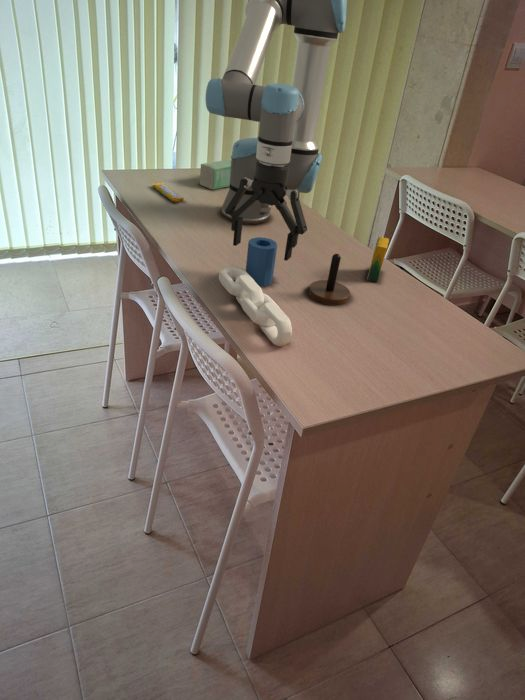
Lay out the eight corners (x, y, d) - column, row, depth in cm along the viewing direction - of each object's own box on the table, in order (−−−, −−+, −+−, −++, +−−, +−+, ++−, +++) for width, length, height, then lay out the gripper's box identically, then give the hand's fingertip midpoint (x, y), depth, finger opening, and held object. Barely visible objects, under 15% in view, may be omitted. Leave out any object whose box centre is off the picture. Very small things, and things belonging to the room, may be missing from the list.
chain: (297, 347, 112) (301, 321, 109) (271, 352, 109) (274, 326, 106) (238, 281, 133) (241, 258, 130) (215, 284, 131) (217, 261, 127)
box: (240, 184, 196) (242, 163, 192) (213, 190, 187) (214, 169, 183) (226, 179, 200) (227, 158, 196) (199, 184, 191) (199, 163, 187)
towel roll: (244, 273, 138) (247, 236, 132) (270, 274, 139) (275, 238, 133) (246, 285, 132) (250, 248, 126) (273, 287, 133) (278, 249, 127)
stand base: (305, 284, 136) (306, 279, 135) (343, 286, 138) (345, 281, 137) (312, 304, 128) (313, 298, 127) (353, 306, 130) (354, 300, 129)
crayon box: (377, 282, 142) (388, 241, 135) (366, 280, 142) (376, 239, 136) (380, 271, 148) (391, 231, 141) (370, 269, 148) (379, 229, 142)
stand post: (325, 287, 133) (332, 251, 127) (333, 287, 133) (340, 252, 128) (326, 291, 131) (334, 255, 126) (334, 291, 131) (342, 256, 126)
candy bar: (184, 202, 175) (185, 197, 173) (173, 204, 172) (173, 198, 171) (162, 186, 185) (162, 180, 184) (151, 187, 183) (151, 181, 182)
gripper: (214, 153, 119) (209, 242, 131) (319, 178, 112) (304, 270, 124) (230, 147, 125) (223, 233, 137) (330, 170, 118) (314, 259, 130)
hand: (261, 251), depth 131 cm, fingers open, 13 cm apart
